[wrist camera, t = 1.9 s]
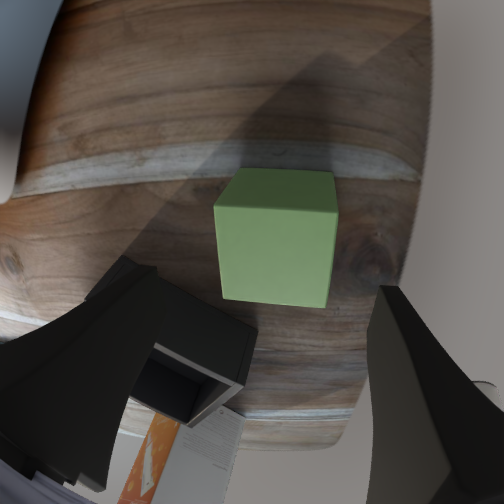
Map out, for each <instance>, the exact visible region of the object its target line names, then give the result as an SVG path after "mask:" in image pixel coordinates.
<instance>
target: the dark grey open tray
mask: <svg viewBox="0 0 504 504" xmlns="http://www.w3.org/2000/svg"><path fill="white" fill-rule="evenodd" d="M138 266H139V265H138V264H136V263H134V262H133V261H131V260H129V259H128V258H126V257H124V256H123V255H121V256H120V257H119V258H118V260H117V261H116V262H115V263H114V264H113V265H112V266H111V268H110V269H109V270H108V271H107V272H106V273H105V275H104V276H103V277H102V278H101V279H100V281H99V282H98V283H97V284H96V285H95V286H94V288H93V289H92V290H91V291H90V293H89V294H88V295H87V296H86V297H85V299H84V302H85V301H86V300H88V299H89V298H91V297H92V296H94V295H95V294H97V293H98V292H100V291H101V290H103V289H104V288H106V287H107V286H108V285H110V284H111V283H113V282H114V281H116V280H117V279H119V278H120V277H122V276H123V275H125V274H126V273H128V272H129V271H131V270H133V269H134V268H136V267H138ZM159 280H160V284H161V288H162V292H163V296H164V300H165V303H166V307H167V311H168V312H167V315H166V318H165V321H164V324H163V327H162V329H161V332H160V335H159V337H158V339H157V341H156V343H155V345H154V347H153V349H152V351H151V353H150V355H149V357H148V359H147V361H146V363H145V365H144V367H143V369H142V370H141V372H140V374H139V376H138V378H137V380H136V382H135V384H134V386H133V389H132V391H131V393H130V395H129V398H130V399H132V400H134V401H136V402H138V403H140V404H141V405H143V406H145V407H147V408H149V409H151V410H153V411H155V412H157V413H159V414H161V415H163V416H165V417H168V418H170V419H172V420H174V421H176V422H178V423H180V424H183V425H186V426H187V427H189V428H193V427H194V426H196V425H197V424H198V423H200V422H201V421H202V420H203V419H205V418H206V417H207V416H209V415H210V414H211V413H212V412H214V411H215V410H216V409H218V408H219V407H220V406H221V405H223V404H224V403H225V402H226V401H228V400H229V399H230V398H231V397H232V396H234V395H235V394H236V393H237V392H239V391H240V390H241V389H242V388H243V387H244V386H245V383H246V379H247V375H248V371H249V367H250V363H251V359H252V355H253V351H254V347H255V343H256V339H257V335H258V331H257V330H255V329H253V328H251V327H249V326H247V325H246V324H244V323H242V322H240V321H238V320H236V319H234V318H232V317H230V316H228V315H226V314H225V313H223V312H221V311H219V310H217V309H215V308H213V307H212V306H210V305H208V304H206V303H204V302H202V301H201V300H199V299H197V298H195V297H193V296H192V295H190V294H188V293H186V292H184V291H183V290H181V289H179V288H177V287H176V286H174V285H172V284H170V283H168V282H167V281H165V280H163V279H162V278H160V277H159Z"/></svg>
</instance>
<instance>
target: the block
mask: <svg viewBox="0 0 504 504" xmlns="http://www.w3.org/2000/svg"><path fill="white" fill-rule="evenodd" d="M338 216H339V211H338V203H337V196H336V189H335V182H334V176H333V173H332V172H324V171H309V170H291V169H268V168H240V169H239V170H238V172H237V173H236V174H235V176H234V177H233V178H232V180H231V181H230V182H229V184H228V185H227V187H226V188H225V189H224V191H223V192H222V194H221V195H220V196H219V198H218V199H217V201H216V202H215V203H214V217H215V227H216V238H217V247H218V257H219V266H220V276H221V285H222V294H223V298H224V299H231V300H240V301H250V302H260V303H270V304H281V305H292V306H304V307H317V308H326V306H327V301H328V294H329V288H330V281H331V273H332V266H333V259H334V251H335V242H336V234H337V225H338Z"/></svg>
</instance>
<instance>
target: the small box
mask: <svg viewBox="0 0 504 504" xmlns="http://www.w3.org/2000/svg"><path fill="white" fill-rule="evenodd" d="M244 423H245V417H243V416H241V415H239V414H237V413H236V412H234V411H232V410H230V409H228V408H226V407H224V406H223V405H221V406H220V407H219V408H218V409H216V410H215V411H214V412H212V413H211V414H210V415H209V416H207V417H206V418H205V419H203V420H202V421H201V422H200V423H198V424H197V425H196V426H194V427H193V428H189V427H187V426H186V425H183V424H180V423H178V422H176V421H174V420H172V419H170V418H168V417H165V416H163V415H161V414H159V413H157V412H156V414H155V416H154V418H153V421H152V423H151V425H150V428H149V430H148V432H147V435H146V437H145V439H144V442H143V444H142V446H141V449H140V451H139V453H138V456H137V458H136V460H135V463H134V465H133V467H132V470H131V472H130V474H129V477H128V479H127V482H126V484H125V487H124V489H123V491H122V494H121V496H120V498H119V501H118V503H117V504H223V502H224V499H225V495H226V491H227V488H228V484H229V480H230V476H231V472H232V469H233V465H234V461H235V457H236V453H237V450H238V446H239V442H240V439H241V434H242V431H243V427H244Z"/></svg>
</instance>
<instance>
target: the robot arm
mask: <svg viewBox="0 0 504 504" xmlns="http://www.w3.org/2000/svg"><path fill="white" fill-rule="evenodd" d="M167 312H168V311H167V307H166V303H165V300H164V296H163V292H162V288H161V284H160V280H159V276H158V272H157V268H156V266H147V265H140V266H138V267H136V268H134V269H133V270H131V271H129V272H128V273H126V274H125V275H123V276H122V277H120V278H119V279H117V280H116V281H114V282H113V283H111V284H110V285H108V286H107V287H106V288H104V289H103V290H101V291H100V292H98V293H97V294H95V295H94V296H92V297H91V298H89V299H88V300H86V301H85V302H83V303H81V304H80V305H78V306H77V307H75V308H74V309H72V310H71V311H69V312H67V313H66V314H64V315H62V316H61V317H59V318H57V319H55V320H54V321H52V322H50V323H48V324H46V325H44V326H42V327H40V328H38V329H36V330H34V331H32V332H29V333H27V334H25V335H23V336H21V337H18V338H16V339H14V340H11V341H8V342H6V343H3V344H0V504H96V503H94V502H92V501H89V500H88V499H86V498H84V497H82V496H80V495H78V494H76V493H74V492H73V491H71V490H69V489H67V488H65V487H64V486H63V483H64V482H67V483H69V484H71V485H73V486H74V485H75V484H76V483H78V484H80V485H82V486H84V487H86V488H88V489H90V490H92V491H94V492H102V491H104V490H105V489H106V484H107V477H108V470H109V465H110V460H111V455H112V451H113V447H114V443H115V439H116V435H117V432H118V428H119V425H120V422H121V418H122V415H123V412H124V409H125V407H126V404H127V401H128V398H129V395H130V393H131V391H132V389H133V386H134V384H135V382H136V380H137V378H138V376H139V374H140V372H141V370H142V369H143V367H144V365H145V363H146V361H147V359H148V357H149V355H150V353H151V351H152V349H153V347H154V345H155V343H156V341H157V339H158V337H159V335H160V332H161V329H162V327H163V324H164V321H165V318H166V315H167ZM367 364H368V373H369V382H370V391H371V402H372V412H373V448H372V462H371V471H370V481H369V488H368V494H367V501H366V504H504V412H503V411H502V410H501V409H500V408H498V407H497V406H496V405H495V404H494V403H493V402H492V401H491V400H490V399H489V398H488V397H487V396H486V395H485V394H484V393H483V392H482V391H481V390H480V389H479V388H478V387H477V386H476V385H475V384H474V383H473V382H472V381H471V380H470V379H469V378H468V377H467V376H466V374H465V373H464V372H463V371H462V370H461V369H460V368H459V367H458V366H457V364H456V363H455V362H454V361H453V360H452V358H451V357H450V356H449V355H448V353H447V352H446V351H445V350H444V348H443V347H442V346H441V345H440V343H439V342H438V341H437V339H436V338H435V337H434V336H433V334H432V333H431V331H430V330H429V329H428V327H427V326H426V325H425V323H424V322H423V320H422V319H421V318H420V316H419V315H418V313H417V312H416V311H415V309H414V308H413V306H412V305H411V304H410V302H409V301H408V299H407V298H406V296H405V295H404V294H403V292H402V291H401V290H400V288H399V287H398V286H385V285H380V286H379V290H378V294H377V298H376V301H375V305H374V309H373V312H372V316H371V319H370V323H369V326H368V329H367Z"/></svg>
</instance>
